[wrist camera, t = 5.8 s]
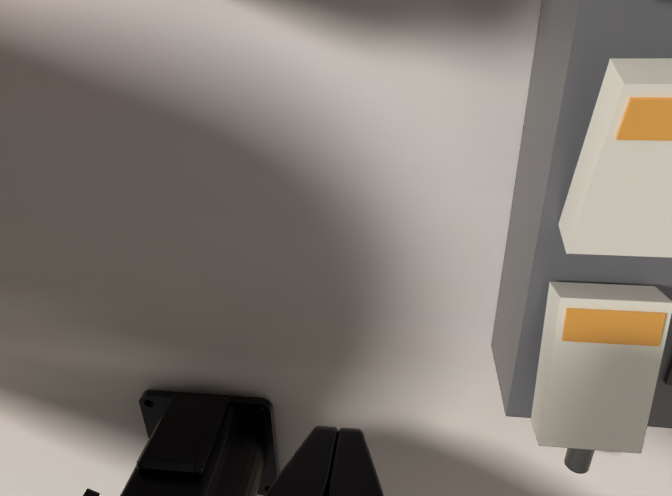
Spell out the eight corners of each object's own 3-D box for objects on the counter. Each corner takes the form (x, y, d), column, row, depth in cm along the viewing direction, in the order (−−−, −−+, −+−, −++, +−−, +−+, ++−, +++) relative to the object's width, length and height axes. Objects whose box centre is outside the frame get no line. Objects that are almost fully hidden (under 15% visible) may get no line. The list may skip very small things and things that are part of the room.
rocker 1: (668, 228, 15) (684, 260, 14) (558, 224, 16) (566, 256, 15) (753, 58, 12) (781, 87, 11) (609, 58, 12) (625, 86, 11)
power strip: (660, 443, 24) (704, 530, 21) (478, 430, 25) (490, 511, 22) (948, -323, 12) (1173, -437, 9) (585, -297, 13) (651, -390, 10)
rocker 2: (625, 428, 18) (642, 455, 16) (530, 421, 18) (539, 447, 17) (654, 286, 16) (675, 304, 15) (549, 281, 16) (561, 298, 15)
